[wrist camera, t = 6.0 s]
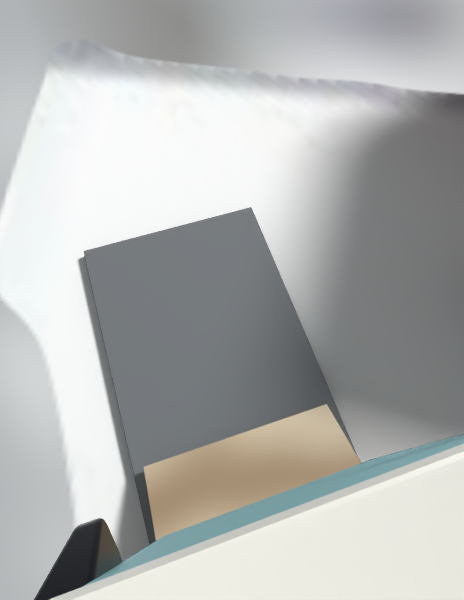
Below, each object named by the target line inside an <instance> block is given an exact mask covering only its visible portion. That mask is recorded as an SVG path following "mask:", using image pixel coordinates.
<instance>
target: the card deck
mask: <svg viewBox="0 0 464 600" xmlns="http://www.w3.org/2000/svg"><path fill="white" fill-rule="evenodd" d="M50 600H464V434H462V435H459V436H455V437H451V438H448V439H444V440H441V441H437V442H433V443H430V444H426V445H422V446H419V447H415V448H411V449H408V450H404V451H401V452H397V453H393V454H390V455H386V456H382V457H379V458H375V459H371V460H369V461H366V462H363V463H361V464H358V465H355V466H353V467H350V468H347V469H344V470H342V471H339V472H336V473H334V474H331V475H328V476H325V477H323V478H320V479H317V480H315V481H312V482H309V483H306V484H304V485H301V486H298V487H296V488H293V489H290V490H287V491H285V492H282V493H279V494H277V495H274V496H271V497H268V498H266V499H263V500H260V501H258V502H255V503H252V504H249V505H247V506H244V507H241V508H239V509H236V510H233V511H230V512H228V513H225V514H222V515H220V516H217V517H214V518H211V519H209V520H206V521H203V522H201V523H198V524H195V525H192V526H190V527H187V528H184V529H182V530H179V531H176V532H173V533H171V534H168V535H165V536H163V537H162V538H160V539H158V540H157V541H155V542H153V543H152V544H150V545H149V546H147V547H145V548H144V549H142V550H141V551H139V552H137V553H136V554H134V555H133V556H131V557H129V558H128V559H126V560H125V561H123V562H122V563H120V564H119V565H117V566H116V567H114V568H112V569H111V570H109V571H108V572H106V573H104V574H103V575H101V576H100V577H98V578H96V579H95V580H92V581H91V582H89V583H88V584H86V585H84V586H83V587H81V588H78V589H75V590H73V591H70V592H67V593H65V594H62V595H59V596H57V597H54V598H51V599H50Z"/></svg>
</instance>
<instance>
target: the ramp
mask: <svg viewBox="0 0 464 600" xmlns="http://www.w3.org/2000/svg"><path fill="white" fill-rule="evenodd" d="M358 464H361V462H360V460H359V458H358V457H357V455H356V453H355V452H354V450H353V448H352V446H351V445H350V443H349V441H348V440H347V438H346V436H345V434H344V433H343V431H342V429H341V428H340V426H339V424H338V422H337V421H336V419H335V417H334V416H333V414H332V412H331V410H330V409H329V407H328V405H327V404H325V405H322V406H319V407H317V408H314V409H311V410H308V411H305V412H302V413H299V414H296V415H293V416H290V417H287V418H285V419H282V420H279V421H276V422H273V423H270V424H267V425H264V426H261V427H258V428H255V429H252V430H250V431H247V432H244V433H241V434H238V435H235V436H232V437H229V438H226V439H223V440H220V441H218V442H215V443H212V444H209V445H206V446H203V447H200V448H197V449H194V450H191V451H188V452H185V453H183V454H180V455H177V456H174V457H171V458H168V459H165V460H162V461H159V462H156V463H153V464H150V465H148V466H145V467H144V473H145V479H146V485H147V491H148V496H149V502H150V508H151V514H152V520H153V526H154V532H155V538H156V541H157V540H158V539H160V538H162V537H163V536H165V535H168V534H171V533H173V532H176V531H179V530H182V529H184V528H187V527H190V526H192V525H195V524H198V523H201V522H203V521H206V520H209V519H211V518H214V517H217V516H220V515H222V514H225V513H228V512H230V511H233V510H236V509H239V508H241V507H244V506H247V505H249V504H252V503H255V502H258V501H260V500H263V499H266V498H268V497H271V496H274V495H277V494H279V493H282V492H285V491H287V490H290V489H293V488H296V487H298V486H301V485H304V484H306V483H309V482H312V481H315V480H317V479H320V478H323V477H325V476H328V475H331V474H334V473H336V472H339V471H342V470H344V469H347V468H350V467H353V466H355V465H358Z"/></svg>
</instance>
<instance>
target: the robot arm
mask: <svg viewBox="0 0 464 600" xmlns="http://www.w3.org/2000/svg"><path fill="white" fill-rule="evenodd" d="M120 563H122V560H121V557H120V553H119V551H118V549H117V546H116V544H115V542H114V539H113V537H112V535H111V533H110V530H109V528H108V526H107V524H106V522H105V521H104V520H103V519H100V518H99V519H95V520H93V521H90V522H87V523H84V524H81V525H79V526H77V527H76V528H75V530H74V531H73V533H72V534H71V536H70V538H69V540H68V541H67V543H66V545H65V547H64V548H63V550H62V552H61V553H60V555H59V557H58V559H57V561H56V562H55V564H54V566H53V567H52V569H51V571H50V573H49V574H48V576H47V578H46V580H45V581H44V583H43V585H42V587H41V588H40V590H39V592H38V594H37V595H36V597H35V599H34V600H50V599H51V598H54V597H57V596H59V595H62V594H65V593H67V592H70V591H73V590H75V589H78V588H81V587H83V586H84V585H86V584H88V583H89V582H91V581H92V580H95V579H96V578H98V577H100V576H101V575H103V574H104V573H106V572H108V571H109V570H111V569H112V568H114V567H116V566H117V565H119V564H120Z"/></svg>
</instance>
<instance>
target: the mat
mask: <svg viewBox="0 0 464 600" xmlns="http://www.w3.org/2000/svg"><path fill="white" fill-rule="evenodd" d="M84 255H85V259H86V264H87V268H88V273H89V277H90V282H91V286H92V290H93V295H94V299H95V304H96V308H97V313H98V317H99V321H100V326H101V330H102V335H103V339H104V344H105V348H106V352H107V357H108V361H109V366H110V370H111V375H112V379H113V383H114V388H115V392H116V397H117V401H118V406H119V410H120V414H121V419H122V423H123V428H124V432H125V437H126V441H127V445H128V450H129V454H130V459H131V463H132V467H133V472H134V476H135V481H136V485H137V490H138V494H139V498H140V503H141V507H142V512H143V516H144V521H145V525H146V529H147V534H148V538H149V543H150V544H152V543H153V542H155V541H156V538H155V532H154V526H153V520H152V514H151V508H150V502H149V496H148V491H147V485H146V479H145V473H144V467H145V466H148V465H150V464H153V463H156V462H159V461H162V460H165V459H168V458H171V457H174V456H177V455H180V454H183V453H185V452H188V451H191V450H194V449H197V448H200V447H203V446H206V445H209V444H212V443H215V442H218V441H220V440H223V439H226V438H229V437H232V436H235V435H238V434H241V433H244V432H247V431H250V430H252V429H255V428H258V427H261V426H264V425H267V424H270V423H273V422H276V421H279V420H282V419H285V418H287V417H290V416H293V415H296V414H299V413H302V412H305V411H308V410H311V409H314V408H317V407H319V406H322V405H325V404H327V405H328V407H329V409H330V410H331V412H332V414H333V416H334V417H335V419H336V421H337V422H338V424H339V426H340V428H341V429H342V431H343V433H344V434H345V436H346V438H347V440H348V441H349V443H350V445H351V446H352V448H353V450H354V447H353V445H352V443H351V440H350V438H349V436H348V433H347V431H346V429H345V426H344V424H343V421H342V419H341V417H340V414H339V412H338V410H337V407H336V405H335V403H334V400H333V398H332V396H331V393H330V391H329V389H328V386H327V384H326V382H325V379H324V377H323V375H322V372H321V370H320V368H319V365H318V363H317V361H316V358H315V356H314V353H313V351H312V349H311V346H310V344H309V342H308V339H307V337H306V335H305V332H304V330H303V328H302V325H301V323H300V321H299V318H298V316H297V314H296V311H295V309H294V307H293V304H292V302H291V300H290V297H289V295H288V293H287V290H286V288H285V285H284V283H283V281H282V278H281V276H280V274H279V271H278V269H277V267H276V264H275V262H274V260H273V257H272V255H271V253H270V250H269V248H268V246H267V243H266V241H265V239H264V236H263V234H262V232H261V229H260V227H259V225H258V222H257V220H256V217H255V215H254V213H253V210H252V208H251V207H250V208H247V209H243V210H239V211H235V212H231V213H228V214H224V215H220V216H216V217H212V218H208V219H205V220H201V221H197V222H193V223H189V224H186V225H182V226H178V227H174V228H170V229H166V230H163V231H159V232H155V233H151V234H147V235H144V236H140V237H136V238H132V239H128V240H124V241H121V242H117V243H113V244H109V245H105V246H102V247H98V248H94V249H90V250H86V251H84ZM354 452H355V450H354ZM355 453H356V452H355ZM356 455H357V454H356Z"/></svg>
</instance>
